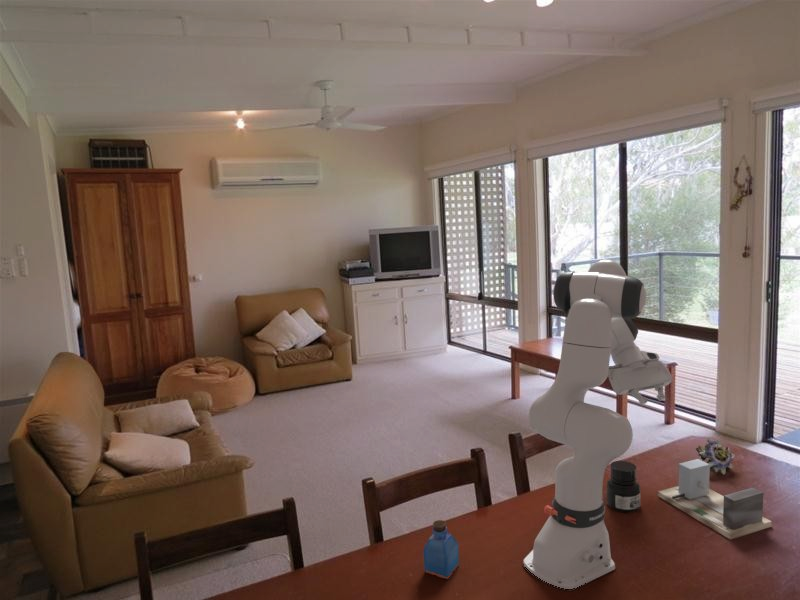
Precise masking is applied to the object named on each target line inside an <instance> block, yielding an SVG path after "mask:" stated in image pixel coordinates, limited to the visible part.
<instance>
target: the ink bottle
mask: <svg viewBox="0 0 800 600" xmlns="http://www.w3.org/2000/svg"><path fill="white" fill-rule="evenodd" d="M606 504H607V506H608V507H609V508H611V509H612V510H615V511H617V512H620V513H634V512H636V511H638V510H640V508H641V485H640V483H639V481H637V466H636V465H635V463H632V462H630V461H626V460H615V461H611V462H610V478H608V480H607V481H606Z"/></svg>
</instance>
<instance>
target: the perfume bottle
mask: <svg viewBox="0 0 800 600" xmlns="http://www.w3.org/2000/svg"><path fill="white" fill-rule="evenodd" d="M432 526H433V527H432V535H431V536H429V538H428V541H426V543H425V545H424V547H423V551H422V552H423V563H424V564H423V566H424V571H425V570H428V571H430V572H434V573H436V574H440V575H443V576H445V577H448V576H449V575H450V573H451V572H452V571H453V569H454V568H455V567H456V566H457V565H458V563H459V564H460V555H459V542H458V541H457V540H456V539H455V538H456V537H454V536H453V534H451V533H448V527H447V522H446V521H445V520H442V519H439V520H435V521H433V524H432Z"/></svg>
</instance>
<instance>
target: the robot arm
mask: <svg viewBox="0 0 800 600" xmlns="http://www.w3.org/2000/svg"><path fill="white" fill-rule="evenodd" d="M552 297H553V301H554V305H555V306H556V307H557V309H558V310H559V311H561V312H562V313H563V315H564V316H565V317H566V322H565V324H564V329H563V337H562V343H561V346H562V347H561V355H560V359H559V364H558V365H559V367H558V371H557V375H556V378H555V379H554V382H553V383H552V385H551V386H550V387H549V389H548V390H547V391H546V392H544V393H543V394H542V395H540V396H538V397H537V398H536V399H535V400H534V401H533V402H532V404H531V405H530V407H529V411H528V422H529V425H530V427H531V429H532V430H533V431H534V432H535V433H537V434H539V435H541V436H542V437H544V438H546V439H547V440H549V441H553V442H556V443H559V444H562V445H566V446H568V447H571V448H572V450H573V456H571V457H567V458H564V459H563V460H562V461H560V462H559V463H558V464H557V466H556V468H555V470H554V484H555V485H554V488H555V489H554V490H555V492H554V493H555V494H554V496H553V500H552V503H551V506H550V505H549V504H548V505H545V506H544V511H543V512H544V514H547V515H549V516H548V519H547V520H546V521H545V523H544V525H542V527H541V530H540V531H539V533H538V534H537V536H536V537H535V540H534V542H533V549H532V550H531V551H530V552H529V553H528V554H527V555H526V556H525V558H523V560H522V561H523V562H522V564H524V565H523V567H524V568H525V567H526V568H527V569H528V570H529V571H530V572H531V573H533V574H534V575H535V576H537V577H538V578H537V577H536V578H537V579H539V578H540V579H541V580H540V579H539V580H540V581H542V580H543V581H542V582H544V581H545V582H544V583H546V582H547V583H546V584H548V583H549V584H548V585H550V584H552V585H554V586H553V587H555V586H557V587H556V588H558V587H560V588H559V589H561V588H564V589H563V590H565V589H573V588H575V589H577V587H578V588H579V586H580V587H582V586H584V585H586V584H588V583H590V582H592V581H594V580H596V579H597V578H600V577H602V576H604V575H607V574H609V573H610V572H612V571H615V569H616V564H615V562H614V560H613V559H612V556H611V545H610V543H611V542H610V535H609V534H610V533H609V531H608V528H607V527H606V524H605V521H604V519H605V512H606V506H605V501H604V499H603V491H604V489H603V488H604V477H605V472H606V470H607V467H608V466H609V464H611V463H612V462H613V460H616V459H617V458H619V457H621V456H623V455H624V454H625V453H626V452H627V451H628V450H629V449H630V447H631V444H632V443H633V435H634V433H633V428H632V425H631V422H630V420H629V418H627V417H626V416H624V415H622V414H620V413H618V412H616V411H614V410H613V409H610V408H607V407H603V406H600V405H595V404H593V403H587V402H585V397H586V394H587V392H588V391H589V390H591V389H594V388H596V387H599V386H601V385H603V384H604V382H606V380H607V379H608V381H609V383H610V385H611V388H612V389H613V392H614V393H615V394H616V395H618V396H621V395H626V394H630V395H631V396H632V397H633V398H634V399H636V401H638V403H639V404H640V405H646V404H648V399H647V398H646V396H645V395H644V396H642V394H640V393H639V392H642V391H647V390H652V389H654V390H655V391H657V395H656V398H657V400H658V401H659V402H660V401H664V400H666V398H667V397H666V395H665V394H664V387H666V386H669V385H670V384H671V383H672V382H673V375H672V374H671V372H670V370H669V369H668V368H667V366H666V364H664V363H663V362H662V361H661V360H660V356H659V354H658V353H656V352H650V351H645V350H641V349H640V347H639V346H637V344H636V343H635V341H636V339H637V337H638V334H639V330H638V328H637V326H636V325H635V323H634V321H633V320H632V319H635V318H637V317H638V316H640V314H641V313H642V310H643V309H644V307H645V305H646V301H647V293H646V289H645V285H644V283H643V282H642V281H641V280H640V279H639V278H637V277H634V276H631V275H627V274H626V272H625V270H624V268H623V266H622V265H621V264H620V263H618V262H617V261H615V260H612V259H601V260H598V261H596V262H594V263H593V264H592V265H591V266H590V267H589V269H588V271H581V272H576V271H575V270H574V271H564V272H562V273H560V275H558V276H557V278H556V280H555V283H554V285H553V290H552ZM611 358H612V361H613V363H614V365H610V361H611ZM526 568H525V569H526ZM527 569H526V570H527ZM528 570H527V571H528ZM529 571H528V572H529ZM530 572H529V573H530ZM531 573H530V574H531ZM533 574H532V575H533ZM534 575H533V576H534ZM535 576H534V577H535ZM585 583H586V584H585ZM552 585H551V586H552ZM581 585H582V586H581ZM573 590H574V589H573Z"/></svg>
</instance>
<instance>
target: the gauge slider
mask: <svg viewBox="0 0 800 600" xmlns="http://www.w3.org/2000/svg"><path fill="white" fill-rule="evenodd" d="M706 462H707V461H706ZM706 462H705V460H704V461H702V460H701V458H700V459H699V458H696V459H695V458H694V459H691V460H689V461H684V462H680V463H678V486H679V489H678V493H679V495H675V496H672V498H673V499H676V498H679V497H683V496H684V497H686V498H688V499H693V498H697V497H701V496H704V495H708V494H709V489H710V476H711V475H710V471H711V470H710V469H711V467H710V464H708V463H706Z"/></svg>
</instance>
